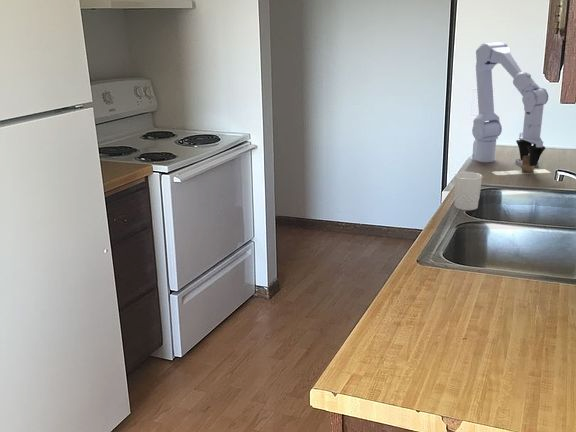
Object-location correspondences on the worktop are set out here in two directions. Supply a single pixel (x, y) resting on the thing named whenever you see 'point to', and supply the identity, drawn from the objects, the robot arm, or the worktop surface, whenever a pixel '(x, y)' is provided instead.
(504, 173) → the board
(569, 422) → the worktop surface
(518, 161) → the button housing
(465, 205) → the white cup
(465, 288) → the worktop surface
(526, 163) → the brown wooden cylinder
